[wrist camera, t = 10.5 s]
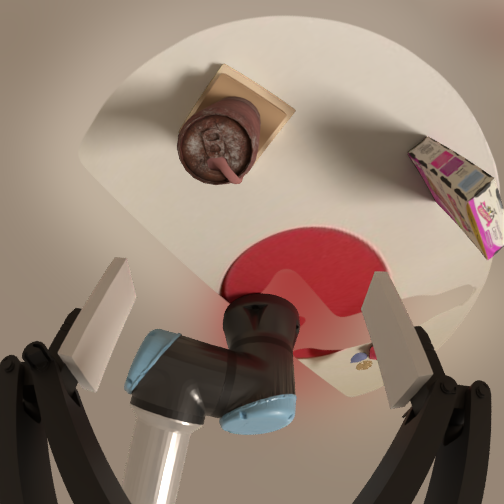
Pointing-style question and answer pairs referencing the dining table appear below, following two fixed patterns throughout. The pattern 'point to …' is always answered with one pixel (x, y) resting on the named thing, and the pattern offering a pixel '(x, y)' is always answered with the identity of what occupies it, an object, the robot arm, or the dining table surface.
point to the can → (220, 141)
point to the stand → (238, 85)
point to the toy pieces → (361, 357)
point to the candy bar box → (463, 193)
